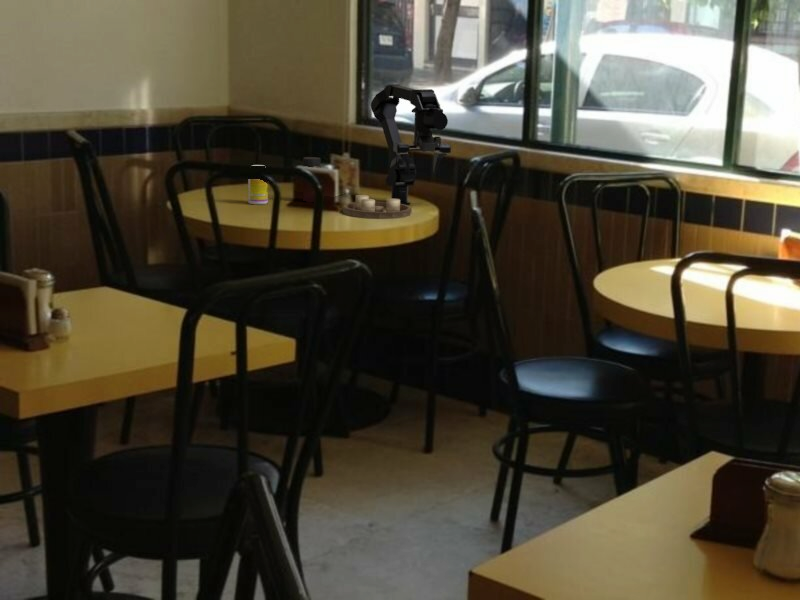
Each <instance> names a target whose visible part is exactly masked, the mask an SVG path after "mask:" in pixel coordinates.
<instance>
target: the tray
mask: <svg viewBox="0 0 800 600" xmlns="http://www.w3.org/2000/svg"><path fill="white" fill-rule="evenodd" d="M386 205H387V201H375V212H370V211H360V210H355V201H354V202H349V203H344V205H343V206H342V213H343V214H344V215H347V216H350V217H354V218H362V219H375V220H378V219H379V220H390V219H391V220H392V219H401V218H406V217H407V218H408V217H409V216H411V215H412V208H413V207H411V206H410V205H409V204H400V211H395V212H386Z"/></svg>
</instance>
